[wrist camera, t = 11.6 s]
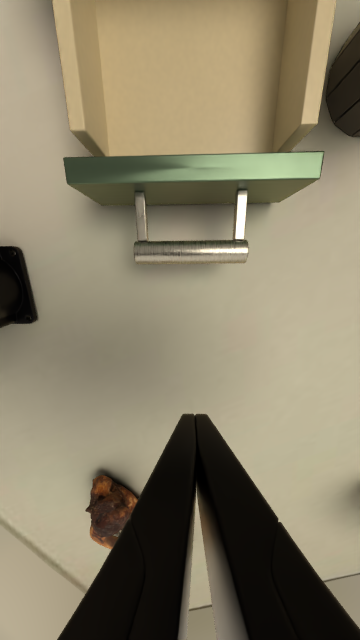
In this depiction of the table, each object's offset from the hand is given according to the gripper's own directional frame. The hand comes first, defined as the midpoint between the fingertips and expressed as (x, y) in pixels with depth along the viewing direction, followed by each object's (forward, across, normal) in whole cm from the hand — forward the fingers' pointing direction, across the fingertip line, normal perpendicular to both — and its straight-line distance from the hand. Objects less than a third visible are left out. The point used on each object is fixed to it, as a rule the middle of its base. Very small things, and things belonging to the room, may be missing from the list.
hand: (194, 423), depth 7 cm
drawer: (+11, 0, -14) cm, 17 cm away
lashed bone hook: (+12, +7, +27) cm, 30 cm away
